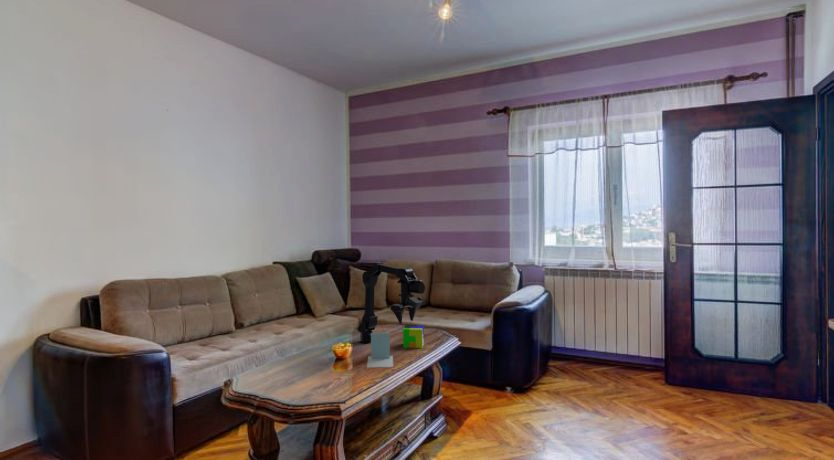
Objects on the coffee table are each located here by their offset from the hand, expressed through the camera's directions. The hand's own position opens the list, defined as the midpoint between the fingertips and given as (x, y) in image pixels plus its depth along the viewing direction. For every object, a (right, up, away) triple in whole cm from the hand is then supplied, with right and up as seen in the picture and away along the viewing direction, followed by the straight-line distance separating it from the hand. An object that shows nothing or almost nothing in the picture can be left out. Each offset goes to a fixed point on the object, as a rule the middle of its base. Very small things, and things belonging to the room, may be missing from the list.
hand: (406, 322), depth 236 cm
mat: (-12, -15, -20) cm, 27 cm away
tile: (-12, -15, -14) cm, 24 cm away
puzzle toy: (+4, -15, +9) cm, 18 cm away
